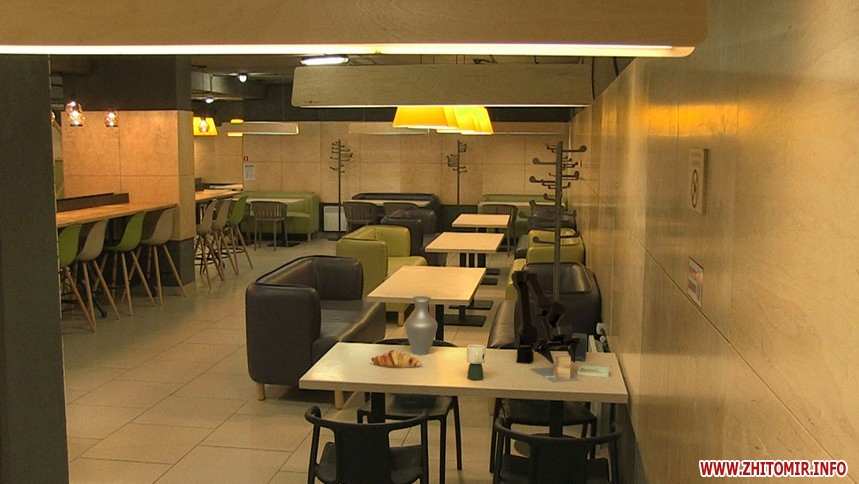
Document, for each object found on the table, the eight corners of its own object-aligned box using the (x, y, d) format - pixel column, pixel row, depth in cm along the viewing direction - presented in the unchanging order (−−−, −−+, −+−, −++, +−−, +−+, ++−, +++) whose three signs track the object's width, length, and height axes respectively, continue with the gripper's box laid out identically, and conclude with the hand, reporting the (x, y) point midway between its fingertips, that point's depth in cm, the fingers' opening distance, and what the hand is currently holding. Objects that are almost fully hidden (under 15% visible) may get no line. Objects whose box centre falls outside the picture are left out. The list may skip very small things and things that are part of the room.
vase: (436, 357, 364) (438, 300, 362) (403, 356, 364) (404, 299, 362) (437, 350, 378) (438, 295, 376) (405, 349, 378) (406, 294, 376)
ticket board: (528, 372, 342) (528, 368, 342) (555, 370, 345) (555, 366, 345) (553, 386, 321) (553, 381, 321) (581, 384, 325) (581, 380, 325)
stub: (553, 377, 328) (554, 354, 328) (565, 376, 330) (565, 353, 329) (558, 379, 325) (559, 356, 324) (569, 379, 326) (570, 356, 325)
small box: (585, 361, 362) (586, 337, 362) (570, 360, 364) (571, 336, 363) (586, 356, 373) (587, 333, 372) (571, 355, 374) (572, 332, 373)
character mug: (485, 382, 324) (486, 349, 323) (467, 382, 324) (468, 349, 323) (483, 375, 335) (484, 343, 334) (465, 375, 335) (466, 343, 333)
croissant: (422, 374, 350) (424, 355, 353) (420, 367, 340) (422, 348, 343) (371, 370, 351) (374, 352, 354) (368, 364, 342) (370, 345, 345)
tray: (577, 378, 334) (577, 371, 334) (578, 371, 346) (579, 365, 345) (608, 380, 331) (608, 374, 331) (608, 373, 343) (609, 367, 343)
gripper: (537, 318, 326) (549, 352, 317) (580, 316, 332) (593, 350, 323) (527, 334, 334) (539, 368, 325) (569, 332, 340) (582, 365, 331)
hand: (563, 362), depth 326 cm, fingers open, 9 cm apart
